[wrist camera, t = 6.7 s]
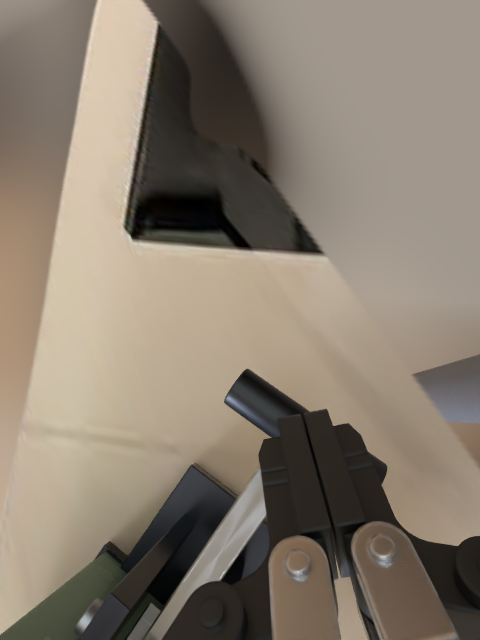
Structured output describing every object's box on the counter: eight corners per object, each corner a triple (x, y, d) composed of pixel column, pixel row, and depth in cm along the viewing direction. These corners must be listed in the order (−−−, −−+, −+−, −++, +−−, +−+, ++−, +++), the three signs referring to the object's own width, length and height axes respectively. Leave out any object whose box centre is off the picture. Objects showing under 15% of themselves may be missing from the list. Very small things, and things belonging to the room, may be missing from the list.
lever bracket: (194, 462, 30) (125, 502, 16) (288, 535, 28) (296, 645, 15) (108, 587, 28) (-44, 742, 15) (202, 670, 27) (125, 927, 13)
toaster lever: (255, 362, 15) (235, 376, 13) (386, 452, 14) (390, 484, 12) (94, 618, 19) (55, 665, 16) (191, 708, 18) (164, 771, 15)
